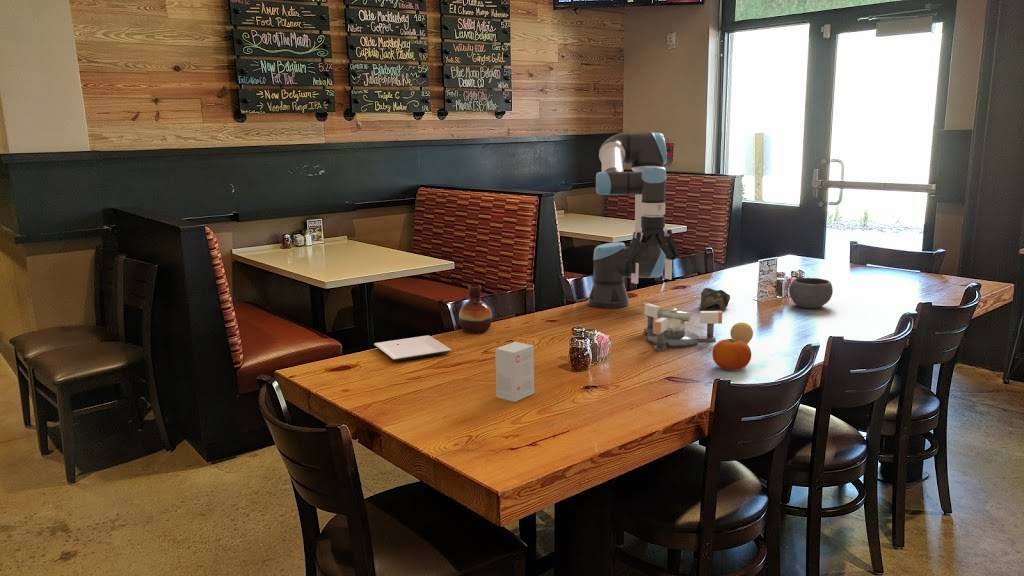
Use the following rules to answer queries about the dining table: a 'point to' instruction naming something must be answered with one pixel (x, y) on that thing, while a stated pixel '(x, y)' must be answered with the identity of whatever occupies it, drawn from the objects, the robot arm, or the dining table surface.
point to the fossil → (714, 298)
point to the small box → (514, 371)
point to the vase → (475, 312)
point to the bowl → (810, 292)
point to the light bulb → (742, 332)
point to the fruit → (731, 354)
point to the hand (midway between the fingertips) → (651, 281)
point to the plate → (412, 348)
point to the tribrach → (676, 331)
